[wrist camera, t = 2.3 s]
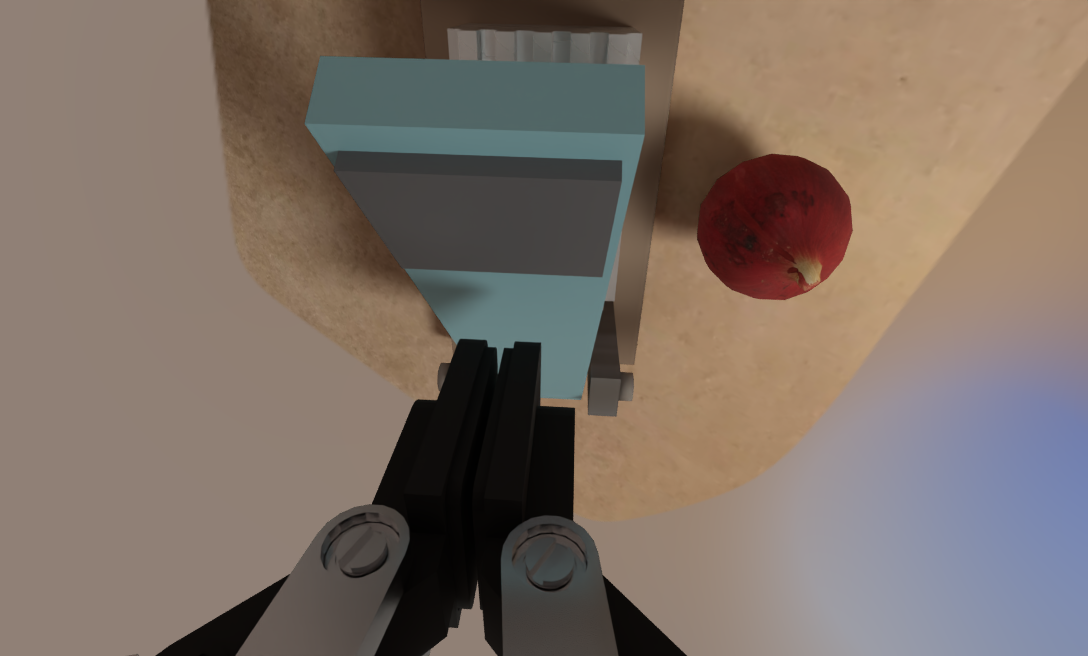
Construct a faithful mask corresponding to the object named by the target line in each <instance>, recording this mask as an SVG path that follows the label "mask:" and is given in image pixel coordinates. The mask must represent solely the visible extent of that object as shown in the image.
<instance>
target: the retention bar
mask: <svg viewBox="0 0 1088 656" xmlns="http://www.w3.org/2000/svg"><path fill="white" fill-rule="evenodd" d="M305 125H306V126H307V128H308V129H309V131H310V132H311V134H312V135H313V137H314V138H315V139H316V141H317V142H318V144H319V145H320V147H321V148H322V150H323V151H324V153H325V154H326V155H327V157H328V158H329V160H330V161H331V163H332V164H333V166H334V167H335V168H334V172H335V173H336V175H337V176H338V177H339V179H340V180H341V182H342V183H343V185H344V186H345V188H346V189H347V190H348V192H349V193H350V195H351V196H352V198H353V199H354V200H355V202H356V203H357V205H358V206H359V208H360V209H361V210H362V212H363V213H364V215H365V216H366V218H367V219H368V221H369V222H370V223H371V225H372V226H373V228H374V229H375V231H376V232H377V233H378V235H379V236H380V238H381V239H382V241H383V242H384V243H385V245H386V246H387V248H388V249H389V251H390V252H391V254H392V255H393V256H394V258H395V259H396V261H397V262H398V264H399V265H400V266H401V268H403V269H405V270H406V272H407V273H408V275H409V276H410V278H411V279H412V281H413V282H414V284H415V285H416V286H417V288H418V289H419V291H420V292H421V294H422V295H423V297H424V298H425V300H426V301H427V302H428V304H429V305H430V307H431V308H432V310H433V311H434V313H435V314H436V316H437V317H438V318H439V320H440V321H441V323H442V324H443V326H444V327H445V329H446V330H447V332H448V333H449V334H450V336H451V337H452V339H453V340H454V342H455V343H456V345H457V343H458V341H459V339H480V340H487V343H488V347H496V348H497V359H498V372H499V368H500V363H501V359H502V354H503V350H504V348H513V347H514V342H515V341H520V342H541V395H540V398H556V399H574V400H581V397H582V393H583V389H584V385H585V381H586V377H587V372H588V368H589V364H590V360H591V356H592V352H593V348H594V343H595V339H596V335H597V331H598V327H599V323H600V319H601V314H602V310H603V306H604V302H605V298H606V294H607V290H608V285H609V281H610V277H611V273H612V269H613V265H614V261H615V256H616V252H617V248H618V244H619V240H620V236H621V231H622V227H623V223H624V219H625V215H626V211H627V207H628V202H629V198H630V194H631V190H632V186H633V182H634V178H635V173H636V169H637V165H638V161H639V157H640V153H641V149H642V144H643V140H644V136H645V65H628V64H592V63H555V62H518V61H482V60H445V59H408V58H372V57H335V56H320V60H319V64H318V68H317V73H316V77H315V81H314V85H313V90H312V94H311V98H310V102H309V107H308V111H307V115H306V120H305Z"/></svg>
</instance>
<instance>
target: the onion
mask: <svg viewBox="0 0 1088 656" xmlns="http://www.w3.org/2000/svg"><path fill="white" fill-rule="evenodd" d="M852 231H853V230H852V216H851V204H850V200H849V197H848V195H847V194H846V193H845V191H844V190H843V188H842V187H841V186H840V184H839V183H838V182H837V180H836V179H835V177H834V176H833V175H832V174H831V173H830V172H829V171H828V170H827V169H825V168H823V167H821V166H819V165H817V164H815V163H813V162H811V161H809V160H807V159H805V158H801V157H798V156H790V155H779V154H769V155H765V156H762V157H758V158H755V159H751V160H747V161H744V162H742V163H740V164H739V165H738V166H736V167H735V168H733V169H732V170H730V171H729V172H727V173H726V174H725V175H723V176H722V177H720V178H719V179H717V181H716V182H715V184H714V185H713V187H712V188H711V190H710V191H709V193H708V194H707V196H706V198H705V199H704V201H703V202H702V204H701V207H700V215H699V222H698V229H697V240H698V243H699V245H700V248H701V251H702V254H703V256H704V259H705V262H706V264H707V265H708V267H709V269H710V270H711V271H712V272H713V273H714V274H715V275H716V276H717V277H718V278H719V279H720V280H721V281H722V282H723V283H724V284H725V285H726V286H727V287H729V288H730V289H732V290H734V291H736V292H739V293H742V294H745V295H747V296H750V297H753V298H757V299H773V300H786V299H789V298H791V297H794V296H797V295H800V294H803V293H806V292H808V291H810V290H811V289H813V288H814V287H816V286H817V285H818V284H820V283H821V282H823V281H824V280H826V279H827V278H828V277H829V276H830V274H831V273H832V272H833V271H834V270H835V268H836V267H837V266H838V265H839V264H840V262H841V261H842V260H843V257H844V255H845V252H846V249H847V246H848V243H849V240H850V237H851V234H852Z"/></svg>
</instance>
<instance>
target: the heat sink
mask: <svg viewBox="0 0 1088 656" xmlns="http://www.w3.org/2000/svg"><path fill="white" fill-rule="evenodd" d="M447 33H448V47H449V60H482V61H518V62H555V63H592V64H628V65H639V61H640V52H641V42H642V33H641V32H640V31H638V30H637V29H635V28H634V27H601V26H560V25H519V24H477V23H467V24H463V25H459V26H455V27H452V28H448V29H447ZM621 234H622V231H621ZM620 244H621V236H620V240H619V244H618V248H617V252H616V256H615V261H614V265H613V269H612V273H611V277H610V281H609V285H608V290H607V294H606V298H605V301H615V292H616V282H617V272H618V263H619V253H620ZM603 309H604V306H603Z"/></svg>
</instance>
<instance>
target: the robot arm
mask: <svg viewBox="0 0 1088 656" xmlns="http://www.w3.org/2000/svg"><path fill="white" fill-rule="evenodd" d="M540 395H541V342H520V341H515V342H514V347H513V348H504V350H503V354H502V359H501V363H500V368H499V372H498V359H497V348H496V347H488V343H487V340H480V339H459V341H458V343H457V346H456V349H455V352H454V354H453V357H452V360H451V363H450V366H449V368H448V371H447V374H446V377H445V380H444V382H443V385H442V388H441V391H440V393H439V396H438V399H437V400H419V399H418V400H416V401H415V402H414V404H413V406H412V408H411V411H410V413H409V415H408V418H407V420H406V423H405V425H404V428H403V430H402V432H401V435H400V437H399V440H398V442H397V444H396V447H395V449H394V452H393V454H392V457H391V459H390V461H389V464H388V466H387V469H386V471H385V473H384V476H383V478H382V481H381V483H380V485H379V488H378V490H377V493H376V495H375V498H374V500H373V502H372V505H371V504H369V505H364V506H358V507H354V508H351V509H349V510H347V511H345V512H342V513H340V514H339V515H337V516H336V517H334V518H333V519H332V520H330V521H329V522H327V523H326V525H325V526H324V527H323V528H322V529H321V530H320V531H319V533H318V534H317V535H316V537H315V538H314V540H313V541H312V543H311V544H310V546H309V547H308V549H307V550H306V551H305V553H304V554H303V556H302V557H301V559H300V560H299V562H298V563H297V565H296V566H295V568H294V570H293V571H292V572H291V574H289V575H287V576H286V577H284V578H282V579H281V580H279V581H278V582H276V583H274V584H272V585H271V586H269V587H267V588H266V589H264V590H262V591H261V592H259V593H257V594H255V595H254V596H252V597H250V598H249V599H247V600H246V601H244V602H242V603H241V604H239V605H237V606H235V607H234V608H232V609H231V610H229V611H227V612H225V613H224V614H222V615H220V616H218V617H217V618H215V619H214V620H212V621H210V622H208V623H207V624H205V625H204V626H202V627H200V628H198V629H197V630H195V631H193V632H192V633H190V634H188V635H187V636H185V637H183V638H181V639H180V640H178V641H176V642H175V643H173V644H171V645H170V646H168V647H167V648H166V649H164V650H163V651H162V652H160V653H159V654H157V655H156V656H429V655H430V649H431V648H433V647H434V646H435V645H436V644H438V643H439V642H440V641H441V640H443V639H444V638H445V637H447V633H448V628H449V627H452V628H458V625H459V620H460V615H461V610H462V609H471V608H472V606H473V603H474V598H475V591H476V586H477V581H478V587H479V599H480V609H481V610H483V620H484V632H485V640H486V641H487V642H488V644H489V645H490V646H491V648H492V649H493V650H494V651H495V653H496V654H497V655H498V656H687V655H686V654H685V653H684V652H682V651H681V650H680V649H679V648H678V647H677V646H676V645H675V644H674V643H673V642H672V641H671V640H670V639H669V638H668V637H667V636H666V635H665V634H664V633H662V631H660V629H659V628H657V627H656V626H655V625H654V624H653V623H652V622H651V621H650V620H649V619H648V618H647V617H646V616H645V615H644V614H643V613H642V612H641V611H640V610H639V609H638V608H637V607H636V606H634V605H633V603H631V602H630V601H629V600H628V599H627V598H626V597H625V596H624V595H623V594H622V593H621V592H620V591H619V590H618V589H617V588H616V587H615V586H613V584H612V583H611V582H609V580H608V579H606V578H605V577H604V576H603V575H602V570H601V565H600V560H599V555H598V551H597V548H596V546H595V543H594V540H593V539H592V538H591V536H590V535H589V534H588V533H587V531H586V530H585V529H584V528H582V527H581V526H580V525H578V524H576V523H575V522H574V521H573V500H574V436H575V408H568V407H549V406H540ZM130 656H139V655H138V654H136V655H130Z"/></svg>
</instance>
